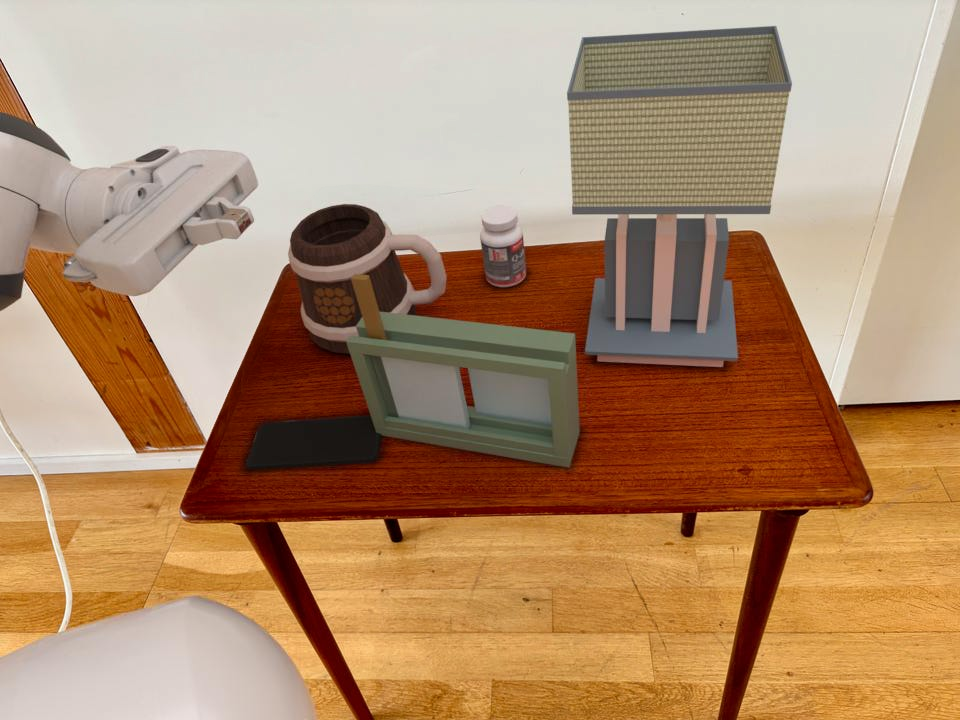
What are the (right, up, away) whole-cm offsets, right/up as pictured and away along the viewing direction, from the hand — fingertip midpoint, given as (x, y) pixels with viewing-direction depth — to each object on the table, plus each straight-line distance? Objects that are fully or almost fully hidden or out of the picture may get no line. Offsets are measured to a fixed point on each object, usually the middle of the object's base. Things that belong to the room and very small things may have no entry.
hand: (244, 223), depth 66 cm
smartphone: (+4, -22, +15) cm, 27 cm away
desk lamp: (+44, -9, +21) cm, 49 cm away
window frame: (+21, -21, +12) cm, 32 cm away
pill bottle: (+26, -1, +33) cm, 42 cm away
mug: (+9, -8, +29) cm, 31 cm away
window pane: (+16, -20, +12) cm, 28 cm away
